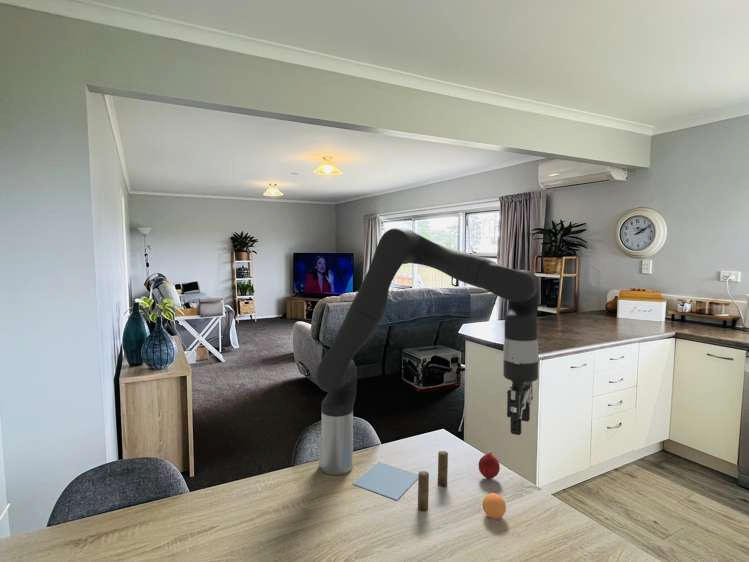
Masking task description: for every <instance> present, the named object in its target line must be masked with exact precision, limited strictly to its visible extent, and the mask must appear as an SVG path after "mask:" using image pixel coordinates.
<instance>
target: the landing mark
mask: <svg viewBox="0 0 749 562" xmlns="http://www.w3.org/2000/svg"><path fill="white" fill-rule="evenodd" d="M417 481H418V473H414V472H411V471H408V470H405V469H403V468H399V467H396V466H393V465H389V464H386V463H383V462H380V461H378V462H377V463H376V464H374V465H373V466H372V467H371V468H370V469H368V470H367V471H366V472H365V473H363V474H362V475H361V476H360V477H358V479H355V481H353V482H352V485H354V486H356V487H359V488H362V489H363V490H364V489H365V490H367V491H370V492H373V493H375V494H378V495H381V496H383V497H386V498H389V499H391V500H395V501H398V500H400V498H401V497H402V496H403V495H404V494H405V493H406V492H407V491H408V490H409V489H410V488H411V487H412V485H414V484H415V482H417Z"/></svg>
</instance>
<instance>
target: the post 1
mask: <svg viewBox="0 0 749 562" xmlns="http://www.w3.org/2000/svg"><path fill="white" fill-rule="evenodd" d="M417 474H418V479H417V509H418V511H420V512H427V511H428V510H429V488H430V487H429V485H430V483H429V482H430V478H429V477H430V474H429V472H428V471H424V470H421V471H419V472H418V473H417Z"/></svg>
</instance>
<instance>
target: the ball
mask: <svg viewBox="0 0 749 562" xmlns="http://www.w3.org/2000/svg"><path fill="white" fill-rule="evenodd" d="M482 509H483V512H484V513H485V514H486V515H487V516H488V517H489V518H490V519H495V520H496V519H497V520H498V519H500V518H502V517H503V516H505V513H506V510H507V504H506V502H505V500H504V498H503V497H502V496H501V495H500V494H498V493H495V492H490V493H488V494H486V495H485V496H484V498H483V499H482Z"/></svg>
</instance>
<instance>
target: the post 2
mask: <svg viewBox="0 0 749 562" xmlns="http://www.w3.org/2000/svg"><path fill="white" fill-rule="evenodd" d="M437 455H438V457H437V459H438V460H437V486H438V487H440V488H445V487H448V470H449V469H448V467H449V466H448V465H449V463H448V462H449V461H448V460H449V453H448V452H447V451H446V450H439V451H438V454H437Z"/></svg>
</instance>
